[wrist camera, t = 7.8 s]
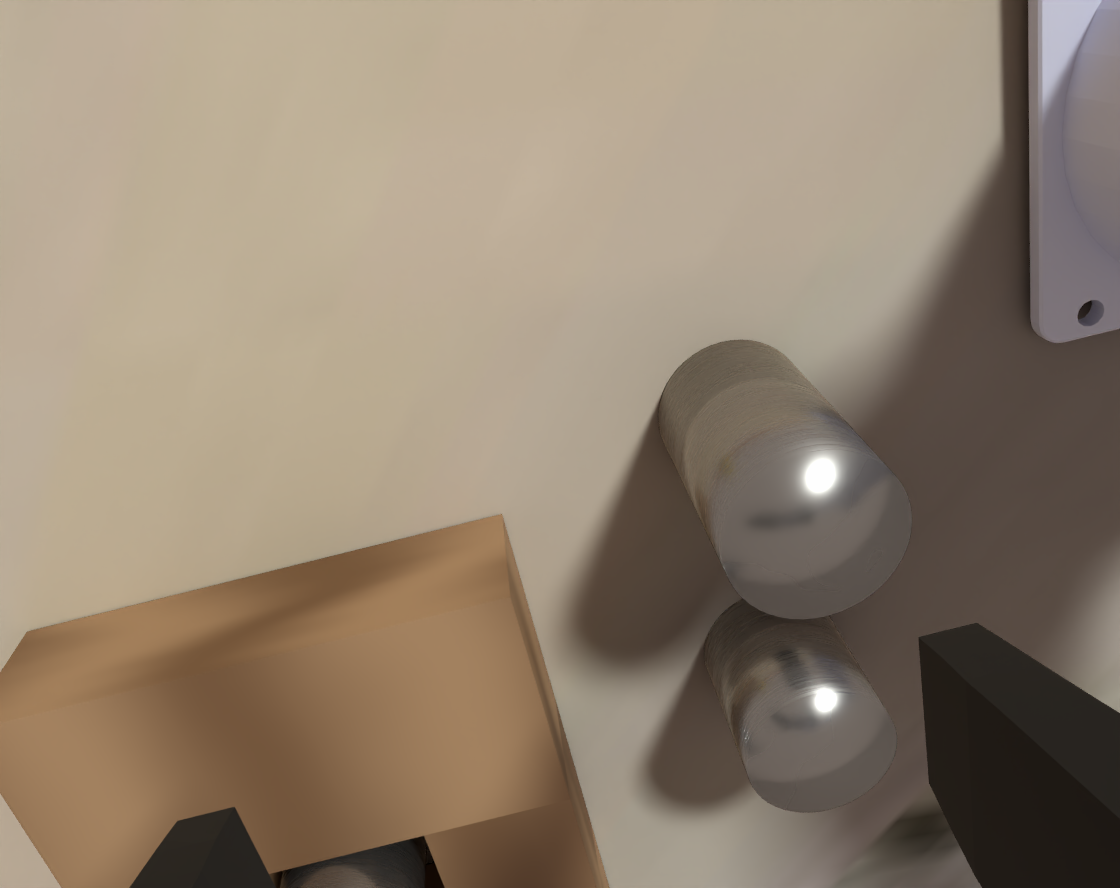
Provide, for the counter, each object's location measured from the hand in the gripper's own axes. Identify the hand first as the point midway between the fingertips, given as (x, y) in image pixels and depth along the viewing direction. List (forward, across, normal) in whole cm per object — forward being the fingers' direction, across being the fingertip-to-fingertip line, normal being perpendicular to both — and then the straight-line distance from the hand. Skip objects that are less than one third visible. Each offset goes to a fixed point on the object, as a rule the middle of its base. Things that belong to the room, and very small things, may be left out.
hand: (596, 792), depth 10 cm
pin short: (+10, -4, +7) cm, 13 cm away
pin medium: (+10, -4, +1) cm, 11 cm away
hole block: (+10, +6, +9) cm, 15 cm away
